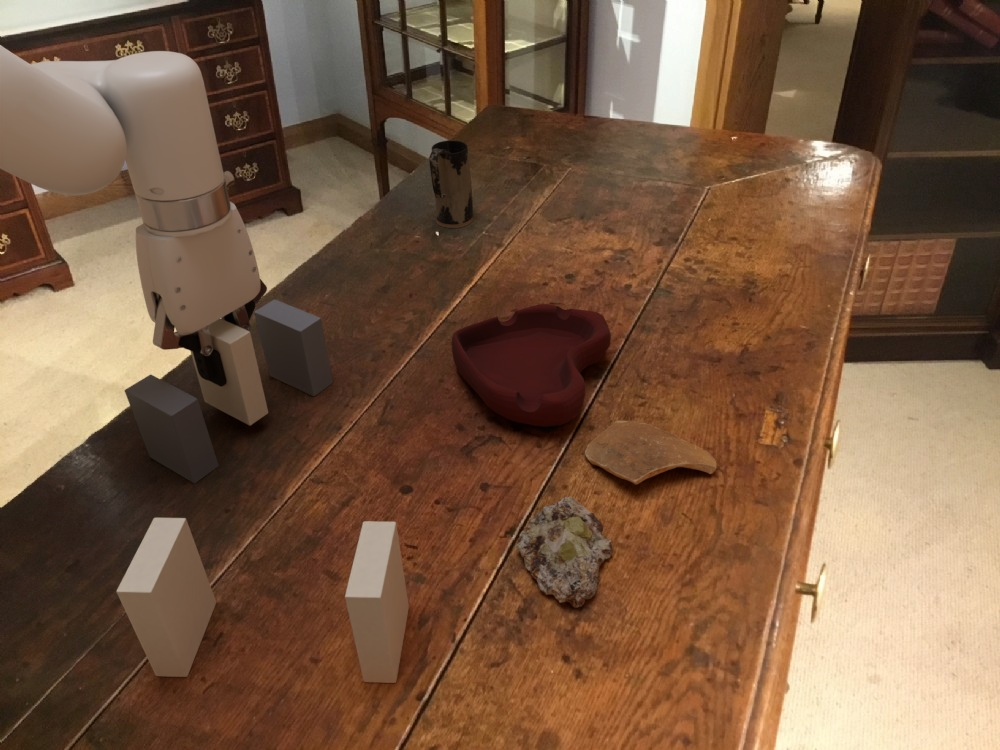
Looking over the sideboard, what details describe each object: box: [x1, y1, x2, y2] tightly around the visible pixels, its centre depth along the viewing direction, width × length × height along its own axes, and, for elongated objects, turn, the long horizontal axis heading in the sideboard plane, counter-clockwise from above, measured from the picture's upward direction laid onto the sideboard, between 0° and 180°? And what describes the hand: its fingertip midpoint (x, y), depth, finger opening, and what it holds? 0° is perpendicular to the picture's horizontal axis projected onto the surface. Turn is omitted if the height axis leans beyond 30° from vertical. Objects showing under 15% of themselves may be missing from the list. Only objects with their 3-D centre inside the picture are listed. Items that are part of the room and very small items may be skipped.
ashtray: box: [451, 303, 612, 433], centre depth 91 cm, size 18×16×5 cm
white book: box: [190, 318, 269, 427], centre depth 85 cm, size 7×2×10 cm, turn 55°
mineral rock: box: [515, 496, 614, 609], centre depth 72 cm, size 11×4×8 cm
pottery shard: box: [584, 420, 717, 485], centre depth 81 cm, size 10×9×2 cm
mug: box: [428, 139, 474, 229], centre depth 120 cm, size 8×6×12 cm
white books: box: [115, 517, 410, 684], centre depth 64 cm, size 18×7×10 cm, turn 87°
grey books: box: [124, 298, 334, 484], centre depth 87 cm, size 7×19×8 cm, turn 145°
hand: (227, 371), depth 85 cm, fingers closed on white book, 2 cm apart
